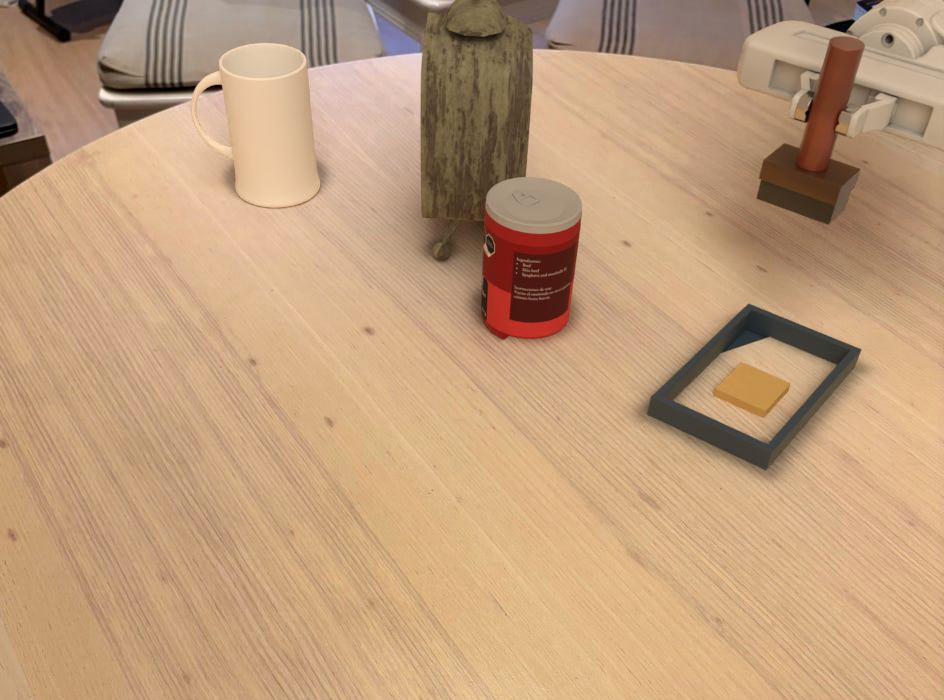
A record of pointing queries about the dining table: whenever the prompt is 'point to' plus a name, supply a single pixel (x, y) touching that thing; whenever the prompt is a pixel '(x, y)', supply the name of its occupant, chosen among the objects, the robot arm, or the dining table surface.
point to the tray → (735, 334)
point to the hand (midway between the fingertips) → (822, 118)
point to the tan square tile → (752, 389)
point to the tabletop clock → (472, 109)
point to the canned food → (529, 257)
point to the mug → (266, 123)
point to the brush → (817, 145)
